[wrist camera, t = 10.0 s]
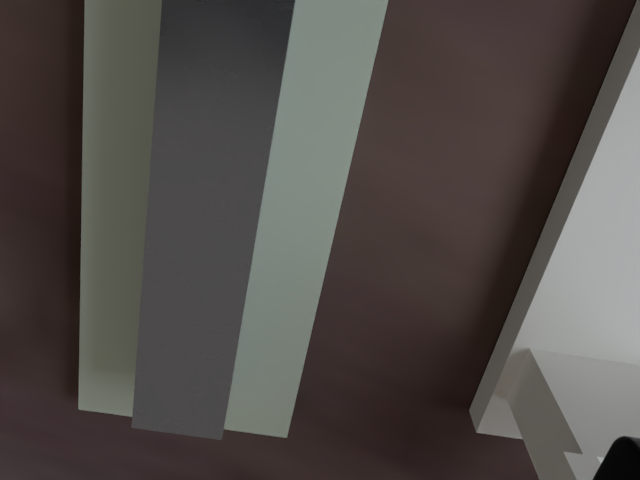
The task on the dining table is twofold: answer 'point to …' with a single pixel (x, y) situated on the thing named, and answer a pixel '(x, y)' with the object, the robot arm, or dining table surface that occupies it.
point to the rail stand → (579, 300)
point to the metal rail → (204, 203)
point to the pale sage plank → (276, 211)
